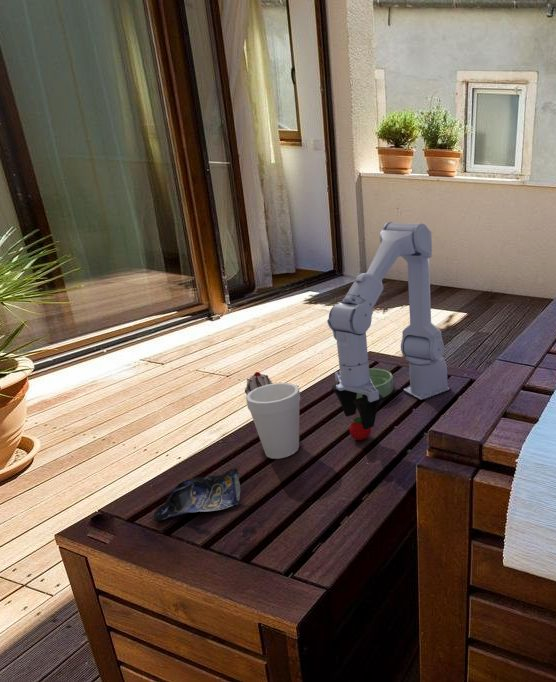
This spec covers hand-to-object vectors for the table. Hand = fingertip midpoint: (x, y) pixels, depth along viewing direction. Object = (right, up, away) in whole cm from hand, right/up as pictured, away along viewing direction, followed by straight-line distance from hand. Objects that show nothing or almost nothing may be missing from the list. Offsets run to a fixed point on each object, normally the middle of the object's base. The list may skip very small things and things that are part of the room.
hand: (359, 421), depth 100 cm
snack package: (-21, -11, -20) cm, 31 cm away
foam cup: (-15, -6, -3) cm, 16 cm away
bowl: (-5, +4, +23) cm, 24 cm away
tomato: (0, -4, +1) cm, 4 cm away
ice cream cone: (-21, -4, +2) cm, 21 cm away
